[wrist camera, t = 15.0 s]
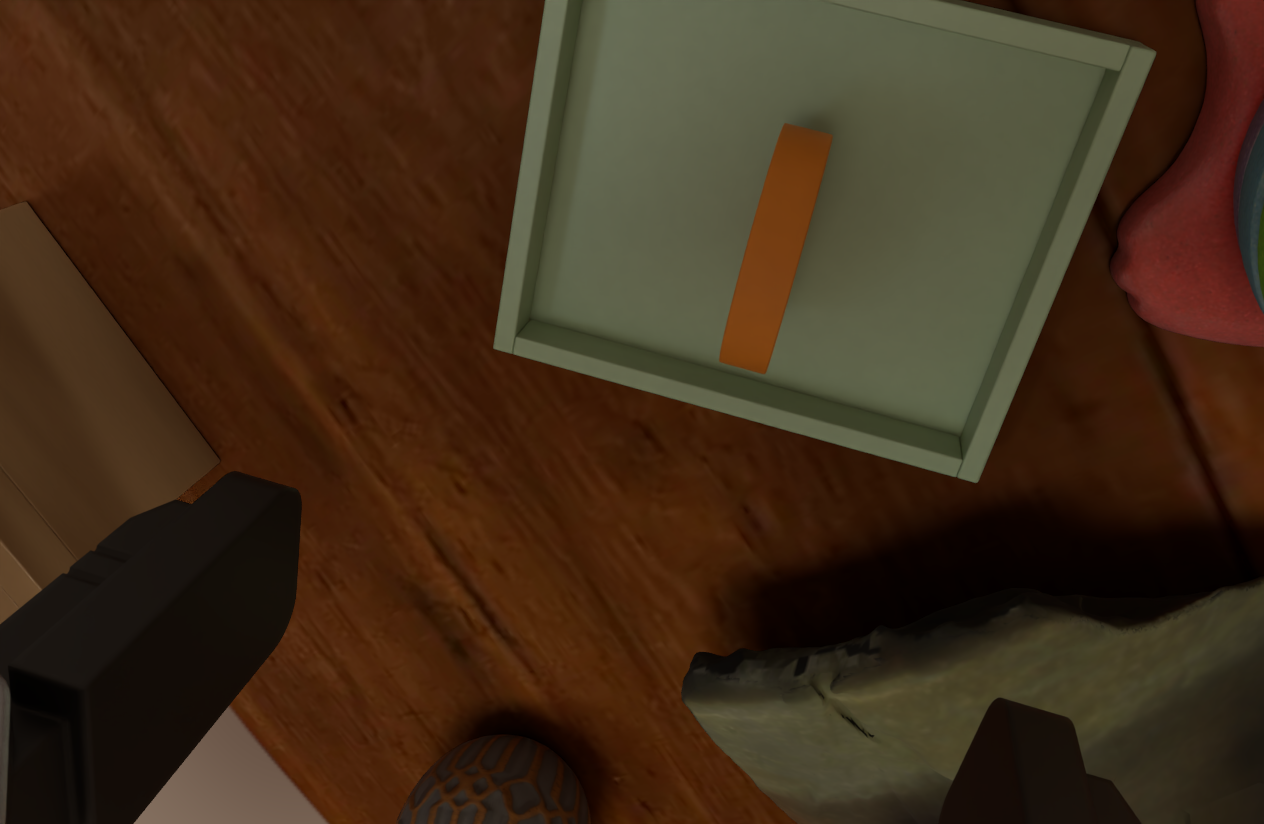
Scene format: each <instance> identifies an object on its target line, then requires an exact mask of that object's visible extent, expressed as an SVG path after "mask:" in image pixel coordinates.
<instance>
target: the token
mask: <svg viewBox="0 0 1264 824" xmlns="http://www.w3.org/2000/svg"><path fill="white" fill-rule="evenodd" d="M832 139H833V135H832V134H828V133H824V132H820V131H816V130H812V129H808V128H804V127H800V126H796V125H792V124H788V123H784V125H783V127H782V129H781V132H780V134H779V137H778V140H777V143H776V146H775V150H774V153H773V156H772V159H771V162H770V166H769V169H768V172H767V176H766V179H765V182H764V186H763V189H762V193H761V196H760V200H759V203H758V207H757V210H756V214H755V217H754V221H753V224H752V228H751V231H750V235H749V239H748V242H747V246H746V250H745V253H744V257H743V261H742V264H741V268H740V272H739V276H738V280H737V283H736V287H735V291H734V295H733V299H732V303H731V307H730V311H729V315H728V319H727V323H726V327H725V331H724V336H723V340H722V345H721V350H720V355H719V362H721V363H724V364H728V365H731V366H735V367H739V368H742V369H746V370H750V371H753V372H757V373H761V374H765V373H766V372H767V369H768V366H769V363H770V360H771V356H772V353H773V350H774V347H775V343H776V340H777V337H778V333H779V330H780V326H781V323H782V320H783V316H784V313H785V309H786V306H787V302H788V299H789V295H790V292H791V288H792V285H793V282H794V278H795V275H796V271H797V268H798V264H799V260H800V257H801V253H802V250H803V246H804V243H805V239H806V236H807V232H808V229H809V225H810V221H811V218H812V214H813V211H814V207H815V203H816V200H817V196H818V193H819V189H820V185H821V182H822V178H823V174H824V171H825V167H826V163H827V159H828V155H829V152H830V148H831V144H832Z"/></svg>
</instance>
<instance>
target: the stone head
mask: <svg viewBox="0 0 1264 824" xmlns="http://www.w3.org/2000/svg"><path fill="white" fill-rule="evenodd" d="M681 695H682V701H683V702H684V704H685V705H686V706H687V707H688V708H689V709H690V711H691V713H692V714H694V717H695V718H696V720H697V721H698V722H699V723H700V725H701V727H702V728H703V729H704V730H705V731H706V733H707V734H708V735H709V736H710V737H711V739H712V740H713V741H714V742H715V743H716V745H717V746H719V747H720V748H721V749H722V750H723V752H724V753H726V754H727V755H728V756H730V757H731V759H732V760H733V761H734V762H735V763H736V764H737V765H738V766H739V767H741V768H742V769H743V770H744V771H745V772H746V773H747V774H748V775H749V776H750V777H751V779H752V780H753V781H754V782H755V784H756V786H757V787H758V788H759V789H760V790H761V791H762V792H763V793H765V794H766V795H767V796H769V797H770V798H771V800H773V801H774V802H775V803H776V805H777V806H778V807H779V808H781V809H782V810H783V811H784V812H785V813H786V814H787V815H788V816H789V817H790V818H791V819H793V820H794V821H796V822H797V823H798V824H938V823H939V818H940V814H941V810H942V806H943V803H944V800H945V798H946V795H947V793H948V791H949V789H950V787H951V784H952V782H953V780H954V778H955V776H956V774H957V772H958V770H959V768H960V766H961V763H962V761H963V759H964V757H965V755H966V753H967V751H968V749H969V747H970V745H971V742H972V740H973V738H974V736H975V734H976V732H977V730H978V728H979V726H980V724H981V721H982V719H983V717H984V715H985V713H986V711H987V709H988V707H989V706H990V704H991V703H992V702H993V701H994V700H995V699H996V698H1004V699H1007V700H1011V701H1014V702H1017V703H1021V704H1024V705H1028V706H1031V707H1034V708H1038V709H1041V710H1045V711H1048V712H1051V713H1055V714H1058V715H1062V716H1065V717H1068V718H1069V719H1070V720H1072V722H1073V724H1074V727H1075V730H1076V734H1077V738H1078V742H1079V746H1080V750H1081V754H1082V758H1083V762H1084V766H1085V770H1086V773H1087V774H1091V775H1094V776H1098V777H1101V778H1104V779H1108V780H1111V781H1112V782H1113V783H1114V785H1115V786H1116V788H1117V789H1118V790H1119V792H1120V793H1121V795H1122V796H1123V798H1124V799H1125V800H1126V802H1127V803H1128V805H1129V806H1130V807H1131V809H1132V810H1133V812H1134V813H1135V815H1136V816H1137V817H1138V819H1139V820H1140V822H1141V823H1142V824H1264V575H1263V576H1261V577H1258V578H1256V579H1254V580H1250V581H1247V582H1243V583H1239V584H1236V585H1233V586H1225V587H1221V588H1218V589H1216V590H1215V591H1211V592H1201V593H1195V594H1190V595H1183V596H1179V595H1171V596H1165V597H1160V598H1143V597H1141V598H1140V597H1126V598H1099V597H1094V596H1085V595H1077V594H1074V595H1067V596H1051V595H1049V594H1046V593H1041V592H1039V591H1038V590H1035V589H1029V588H1010V589H1005V590H1002V591H998V592H995V593H993V594H989V595H986V596H983V597H977V598H973V599H971V600H968V601H966V602H964V603H961V604H958V605H954V606H951V607H948V608H945V609H942V610H939V611H936V612H934V613H932V614H930V615H927V616H925V617H923V618H921V619H920V620H918V621H916V622H913V623H911V624H908V625H906V626H904V627H901V628H897V629H891V628H887V627H885V626H883V625H880V626H878V627H876V628H875V629H874V630H873V631H872V632H871V633H870V634H868V635H866V636H861V637H856V638H854V639H852V640H850V641H848V642H844V643H839V644H835V645H827V646H823V647H805V648H798V647H789V648H771V649H768V650H764V651H753V650H749V649H744V648H743V649H738V650H737V651H735V652H734V653H732V654H731V655H729V656H727V657H724V656H719V655H715V654H712V653H708V652H698V653H696V654H695V655H694V657H693V660H692V662H691V664H690V669H689V671H688V673H687V674H686V676H685V677H684V680H683V687H682V692H681Z"/></svg>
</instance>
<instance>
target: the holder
mask: <svg viewBox="0 0 1264 824" xmlns="http://www.w3.org/2000/svg"><path fill="white" fill-rule="evenodd" d="M219 463H220V460H219V458H218V457H217V456H216V454H215V453H214V452H213V450H212V449H211V448H210V446H209V445H208V444H207V442H206V441H205V440H204V438H203V437H202V436H201V434H200V433H199V432H198V430H197V429H196V428H195V426H194V425H193V424H192V422H191V421H190V420H189V418H188V417H187V416H186V414H185V413H184V412H183V410H182V409H181V408H180V406H179V405H178V404H177V402H176V401H175V400H174V398H173V397H172V396H171V394H170V393H169V392H168V390H167V389H166V388H165V386H164V385H163V384H162V382H161V381H160V380H159V378H158V377H157V376H156V374H155V373H154V372H153V370H152V369H151V368H150V366H149V365H148V363H147V362H146V361H145V359H144V358H143V357H142V355H141V354H140V353H139V351H138V350H137V349H136V347H135V346H134V345H133V343H132V342H131V341H130V339H129V338H128V337H127V335H126V334H125V333H124V331H123V330H122V329H121V327H120V326H119V325H118V323H117V322H116V321H115V319H114V318H113V317H112V315H111V314H110V313H109V311H108V310H107V309H106V307H105V306H104V305H103V303H102V302H101V301H100V299H99V298H98V297H97V295H96V294H95V293H94V291H93V290H92V289H91V287H90V286H89V285H88V283H87V282H86V281H85V279H84V278H83V277H82V275H81V274H80V273H79V271H78V270H77V269H76V267H75V266H74V265H73V263H72V262H71V261H70V259H69V258H68V257H67V255H66V254H65V253H64V251H63V250H62V249H61V247H60V246H59V245H58V243H57V242H56V241H55V239H54V238H53V237H52V235H51V234H50V233H49V231H48V230H47V229H46V227H45V226H44V225H43V223H42V222H41V221H40V219H39V218H38V217H37V215H36V214H35V213H34V211H33V210H32V209H31V207H30V206H29V204H28V203H27V202H22V203H19V204H16V205H13V206H10V207H7V208H4V209H2V210H0V624H1V623H2V622H3V621H5V620H6V619H7V618H8V617H10V616H11V615H12V614H13V613H14V612H16V611H17V610H18V609H19V608H21V607H22V606H23V605H24V604H25V603H27V602H28V601H29V600H30V599H32V598H33V597H34V596H35V595H36V594H38V593H39V592H40V591H41V590H43V589H44V588H45V587H46V586H47V585H49V584H50V583H51V582H52V581H53V580H55V579H56V578H57V577H58V576H60V575H61V574H62V573H65V574H67V573H68V572H69V569H70V567H71V566H72V565H73V564H74V563H75V562H77V561H78V560H79V559H80V558H82V557H83V556H84V555H85V554H86V553H88V552H89V551H90V550H92V551H95V550H96V548H97V544H99V543H100V542H101V541H102V540H104V539H105V538H106V537H107V536H108V535H110V534H111V533H112V532H113V531H114V530H116V529H117V528H118V527H119V526H121V525H122V524H123V523H124V522H125V521H127V520H128V519H129V518H131V517H133V516H136V515H138V514H141V513H143V512H146V511H148V510H150V509H153V508H155V507H158V506H160V505H163V504H165V503H168V502H170V501H173V500H176V499H177V498H178V497H180V496H181V495H182V494H183V493H184V492H185V491H187V490H188V489H189V488H190V487H191V486H193V485H194V484H195V483H196V482H197V481H198V480H200V479H201V478H202V477H203V476H204V475H206V474H207V473H208V472H209V471H210V470H212V469H213V468H214V467H215V466H216V465H217V464H219Z"/></svg>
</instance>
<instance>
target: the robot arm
mask: <svg viewBox="0 0 1264 824" xmlns="http://www.w3.org/2000/svg"><path fill="white" fill-rule="evenodd" d="M301 510H302V502H301V496H300V493H299V491H298V490H297V489H295V488H292V487H289V486H285V485H282V484H278V483H275V482H271V481H268V480H265V479H261V478H258V477H254V476H251V475H248V474H244V473H241V472H237V471H233V472H230V473H228V474H226V475H225V476H224V477H222V478H221V479H220V480H219V481H218V482H217V483H216V484H214V485H213V486H212V487H211V488H210V489H209V490H208V491H206V492H205V493H204V494H203V495H202V496H201V497H200V498H198V499H197V500H196V501H195V502H194V503H193V504H189V503H185V502H182V501H179V500H173V501H170V502H168V503H165V504H163V505H160V506H158V507H155V508H153V509H150V510H148V511H146V512H143V513H141V514H138V515H136V516H133V517H131V518H129V519H128V520H127V521H125V522H124V523H123V524H122V525H121V526H119V527H118V528H117V529H116V530H114V531H113V532H112V533H111V534H110V535H108V536H107V537H106V538H105V539H104V540H102V541H101V542H100V543H99V544H97V548H96V550H95V551H92V550H90V551H89V552H88V553H86V554H85V555H84V556H83V557H82V558H80V559H79V560H78V561H77V562H75V563H74V564H73V565H72V566H71V567H70V569H69V572H68V573H67V574H65V573H62V574H61V575H60V576H58V577H57V578H56V579H55V580H53V581H52V582H51V583H50V584H49V585H47V586H46V587H45V588H44V589H43V590H41V591H40V592H39V593H38V594H36V595H35V596H34V597H33V598H32V599H30V600H29V601H28V602H27V603H25V604H24V605H23V606H22V607H21V608H19V609H18V610H17V611H16V612H14V613H13V614H12V615H11V616H10V617H8V618H7V619H6V620H5V621H3V622H2V623H1V624H0V824H133V823H134V822H135V821H136V820H137V819H138V817H139V816H140V815H141V814H142V812H143V811H144V810H145V809H146V807H147V806H148V805H149V804H150V803H151V801H152V800H153V799H154V798H155V796H156V795H157V794H158V793H159V791H160V790H161V789H162V788H163V786H164V785H165V784H166V783H167V782H168V780H169V779H170V778H171V777H172V775H173V774H174V773H175V772H176V770H177V769H178V768H179V766H180V765H181V764H182V763H183V762H184V760H185V759H186V758H187V757H188V756H189V754H190V753H191V752H192V750H193V749H194V748H195V747H196V746H197V744H198V743H199V742H200V741H201V739H202V738H203V737H204V736H205V734H206V733H207V732H208V730H210V728H211V727H212V726H213V725H214V723H215V722H216V721H217V720H218V718H219V717H220V716H221V715H222V713H223V712H224V711H225V710H226V709H227V707H228V706H229V705H230V704H231V702H232V701H233V700H234V699H235V697H236V696H237V695H238V694H239V692H240V691H241V690H242V689H243V687H244V686H245V685H246V684H247V683H248V681H249V680H250V679H251V678H252V676H253V675H254V674H255V673H256V671H257V670H258V669H259V668H260V666H261V665H262V664H263V663H264V662H265V660H266V659H267V658H268V657H269V655H270V654H271V653H272V652H273V650H274V649H275V648H276V646H277V645H278V643H279V642H280V640H281V638H282V636H283V635H284V633H285V630H286V628H287V626H288V623H289V621H290V618H291V615H292V612H293V608H294V604H295V599H296V590H297V574H298V558H299V542H300V526H301ZM938 824H1142V823H1141V822H1140V820H1139V819H1138V817H1137V816H1136V815H1135V813H1134V812H1133V810H1132V809H1131V807H1130V806H1129V805H1128V803H1127V802H1126V800H1125V799H1124V798H1123V796H1122V795H1121V793H1120V792H1119V790H1118V789H1117V788H1116V786H1115V785H1114V783H1113V782H1112V781H1111V780H1108V779H1104V778H1101V777H1098V776H1094V775H1091V774H1087V773H1086V770H1085V766H1084V762H1083V758H1082V754H1081V750H1080V746H1079V742H1078V738H1077V734H1076V730H1075V727H1074V724H1073V722H1072V720H1070V719H1069V718H1068V717H1065V716H1062V715H1058V714H1055V713H1051V712H1048V711H1045V710H1041V709H1038V708H1034V707H1031V706H1028V705H1024V704H1021V703H1017V702H1014V701H1011V700H1007V699H1004V698H996V699H995V700H994V701H993V702H992V703H991V704H990V706H989V707H988V709H987V711H986V713H985V715H984V717H983V719H982V721H981V724H980V726H979V728H978V730H977V732H976V734H975V736H974V738H973V740H972V742H971V745H970V747H969V749H968V751H967V753H966V755H965V757H964V759H963V761H962V763H961V766H960V768H959V770H958V772H957V774H956V776H955V778H954V780H953V782H952V784H951V787H950V789H949V791H948V793H947V795H946V798H945V800H944V803H943V806H942V810H941V814H940V818H939V823H938Z"/></svg>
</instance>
